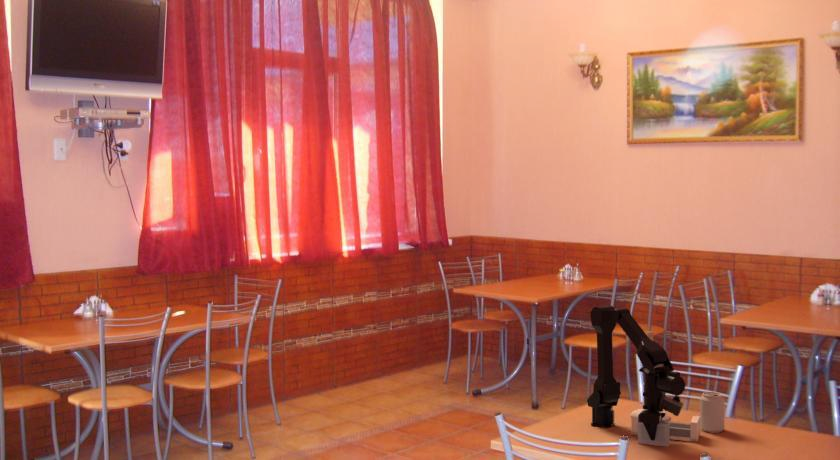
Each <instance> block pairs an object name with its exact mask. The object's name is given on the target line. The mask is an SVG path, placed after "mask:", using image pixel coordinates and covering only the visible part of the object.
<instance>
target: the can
mask: <svg viewBox="0 0 840 460" xmlns="http://www.w3.org/2000/svg"><path fill="white" fill-rule="evenodd" d="M699 399H700V400H699V408H700V409H699V416H700V429H702V431H704V432H707V433H713V434H714V433H715V434H717V433H718V434H719V433H722V432H723V431H724V430H725V426H726V425H725V419H726V418H725V416H726V415H725V413H726V412H725V409H726V408H725V403H726V400H725V398H724V397H723V393H720V392H717V391H704V392H702V393H701V396H700V398H699Z"/></svg>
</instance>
